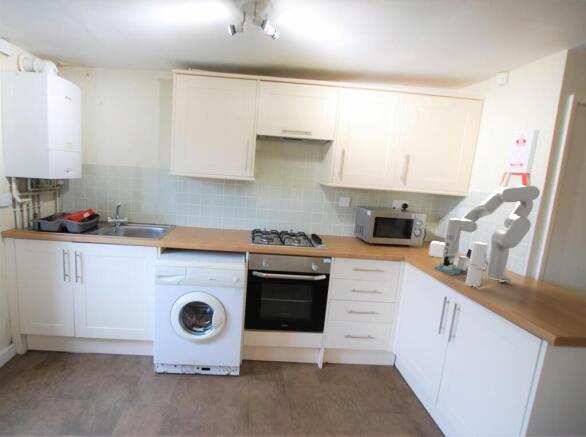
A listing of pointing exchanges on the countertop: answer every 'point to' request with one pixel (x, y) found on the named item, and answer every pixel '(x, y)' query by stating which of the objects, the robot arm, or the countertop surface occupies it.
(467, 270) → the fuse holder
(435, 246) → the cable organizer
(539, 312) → the countertop surface
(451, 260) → the fuse
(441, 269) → the parts tray
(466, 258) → the fuse
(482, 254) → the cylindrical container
